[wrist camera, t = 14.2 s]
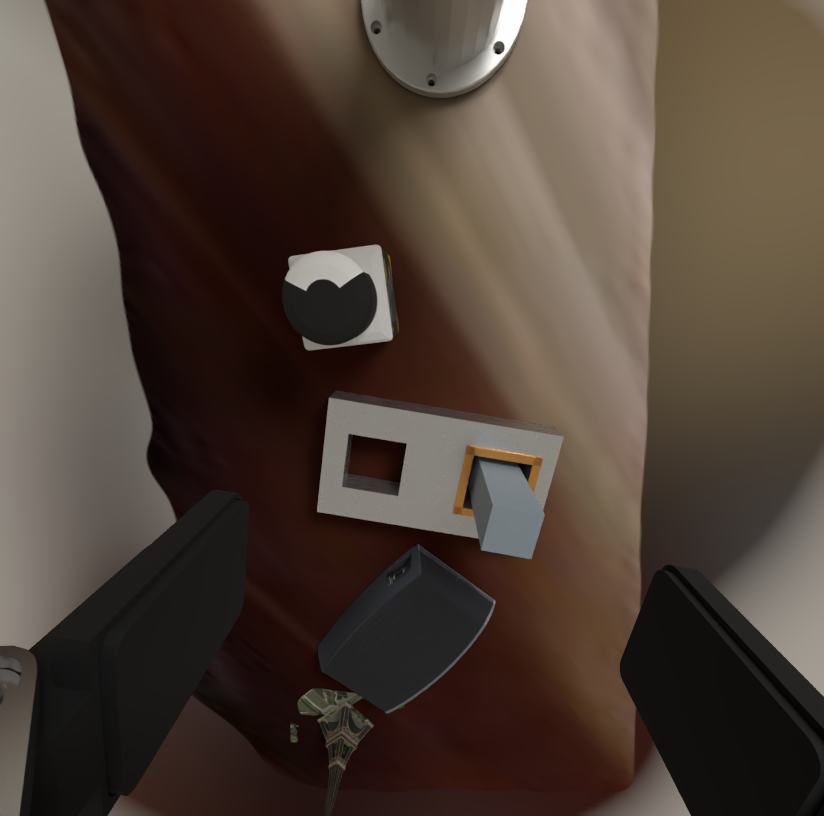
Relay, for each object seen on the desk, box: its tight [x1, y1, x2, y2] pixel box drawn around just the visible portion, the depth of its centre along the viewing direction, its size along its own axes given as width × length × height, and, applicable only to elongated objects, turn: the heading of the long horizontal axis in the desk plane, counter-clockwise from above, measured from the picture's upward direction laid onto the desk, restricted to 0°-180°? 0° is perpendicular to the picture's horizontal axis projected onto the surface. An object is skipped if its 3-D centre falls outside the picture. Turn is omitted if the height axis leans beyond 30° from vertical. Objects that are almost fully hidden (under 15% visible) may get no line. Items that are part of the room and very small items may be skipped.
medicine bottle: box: [282, 245, 399, 350], centre depth 31 cm, size 7×7×12 cm
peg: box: [468, 456, 545, 559], centre depth 36 cm, size 4×4×11 cm
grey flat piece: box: [317, 390, 564, 539], centre depth 39 cm, size 12×22×3 cm, turn 81°
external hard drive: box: [318, 544, 495, 713], centre depth 45 cm, size 13×19×4 cm
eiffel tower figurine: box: [291, 688, 405, 816], centre depth 45 cm, size 15×10×13 cm
